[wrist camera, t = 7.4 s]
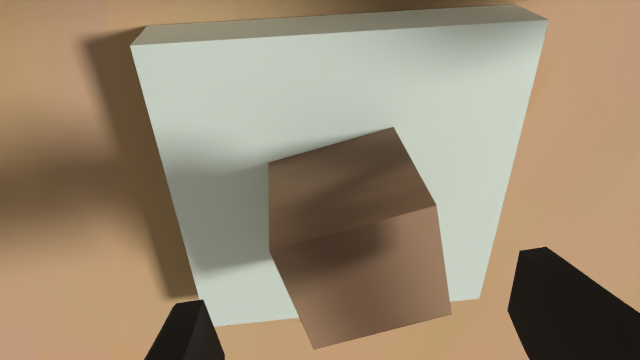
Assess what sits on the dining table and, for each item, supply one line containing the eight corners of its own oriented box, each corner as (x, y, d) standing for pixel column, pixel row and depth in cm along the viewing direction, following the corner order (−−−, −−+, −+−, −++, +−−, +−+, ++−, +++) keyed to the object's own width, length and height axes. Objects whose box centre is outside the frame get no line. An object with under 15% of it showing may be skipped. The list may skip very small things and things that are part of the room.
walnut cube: (393, 126, 17) (436, 205, 12) (411, 223, 19) (451, 314, 15) (268, 162, 17) (268, 251, 13) (303, 252, 20) (313, 349, 15)
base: (514, 4, 17) (548, 19, 15) (461, 264, 25) (479, 298, 23) (147, 25, 16) (129, 45, 14) (212, 289, 24) (207, 327, 22)
